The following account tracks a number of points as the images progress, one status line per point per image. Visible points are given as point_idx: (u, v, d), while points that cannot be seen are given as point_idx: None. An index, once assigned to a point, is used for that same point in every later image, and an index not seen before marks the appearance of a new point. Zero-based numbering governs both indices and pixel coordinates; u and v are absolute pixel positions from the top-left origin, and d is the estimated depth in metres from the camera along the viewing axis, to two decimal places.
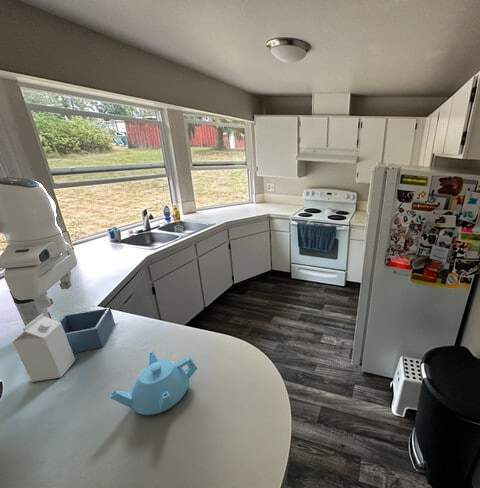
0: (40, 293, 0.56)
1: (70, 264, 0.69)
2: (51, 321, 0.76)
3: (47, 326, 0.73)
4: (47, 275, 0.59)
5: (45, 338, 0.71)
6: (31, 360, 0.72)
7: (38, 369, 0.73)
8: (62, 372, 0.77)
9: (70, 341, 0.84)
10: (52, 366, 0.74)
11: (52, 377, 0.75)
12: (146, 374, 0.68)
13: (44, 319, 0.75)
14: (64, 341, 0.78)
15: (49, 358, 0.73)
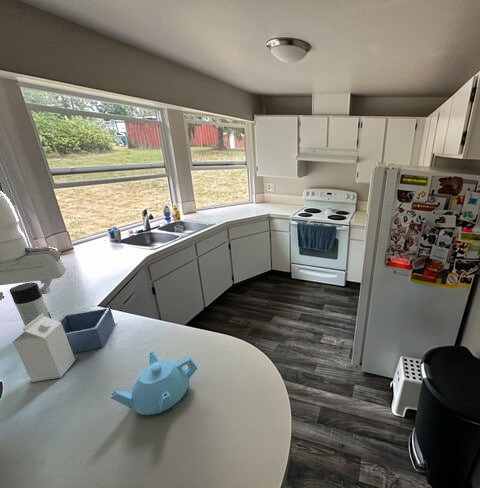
0: None
1: (39, 275, 0.68)
2: (51, 321, 0.76)
3: (47, 326, 0.73)
4: None
5: (45, 338, 0.71)
6: (31, 360, 0.72)
7: (38, 369, 0.73)
8: (62, 372, 0.77)
9: (70, 341, 0.84)
10: (52, 366, 0.74)
11: (52, 377, 0.75)
12: (146, 374, 0.68)
13: (44, 319, 0.75)
14: (64, 341, 0.78)
15: (49, 358, 0.73)
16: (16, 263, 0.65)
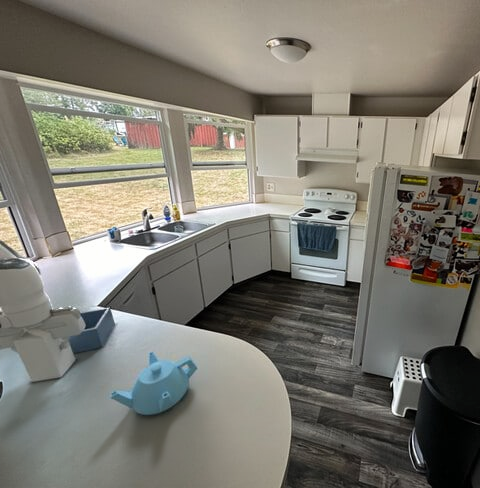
0: None
1: (62, 333, 0.74)
2: None
3: None
4: (13, 337, 0.70)
5: (45, 338, 0.72)
6: (31, 360, 0.72)
7: (38, 368, 0.74)
8: (62, 372, 0.77)
9: (70, 341, 0.84)
10: (52, 366, 0.74)
11: (52, 377, 0.75)
12: (146, 374, 0.68)
13: None
14: None
15: (50, 358, 0.73)
16: (41, 324, 0.72)
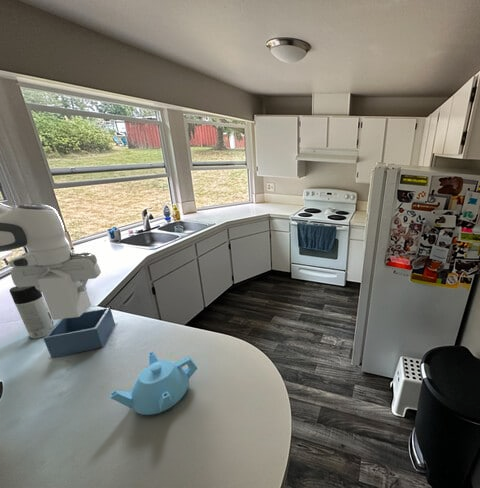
0: (20, 285, 0.77)
1: (80, 275, 0.82)
2: None
3: None
4: (37, 276, 0.78)
5: (66, 278, 0.79)
6: (53, 298, 0.80)
7: (59, 307, 0.81)
8: (80, 313, 0.85)
9: (70, 341, 0.84)
10: (72, 306, 0.82)
11: (71, 316, 0.83)
12: (146, 374, 0.68)
13: None
14: None
15: (69, 298, 0.81)
16: (62, 266, 0.80)
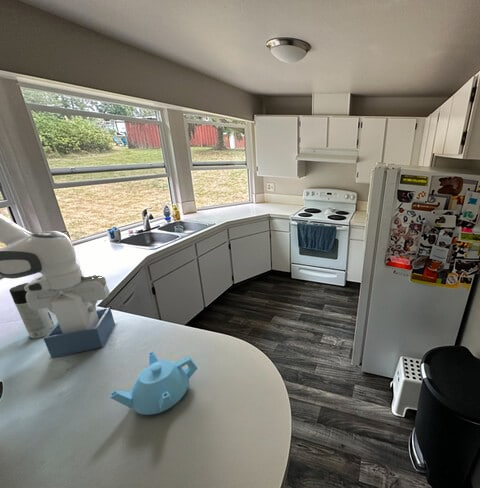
0: (34, 308, 0.81)
1: (91, 297, 0.86)
2: None
3: None
4: (50, 299, 0.82)
5: (77, 300, 0.83)
6: (65, 319, 0.84)
7: (70, 327, 0.85)
8: None
9: (70, 341, 0.84)
10: (83, 326, 0.86)
11: None
12: (146, 374, 0.68)
13: None
14: (91, 305, 0.90)
15: (80, 318, 0.85)
16: (74, 289, 0.84)
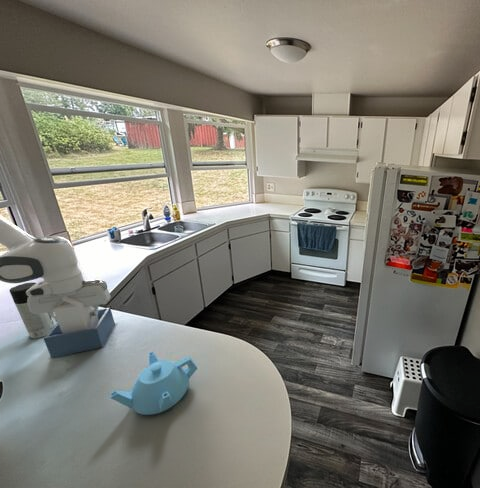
0: (36, 312, 0.82)
1: (92, 301, 0.87)
2: None
3: None
4: (51, 303, 0.83)
5: (79, 307, 0.84)
6: (67, 326, 0.85)
7: None
8: None
9: (70, 341, 0.84)
10: None
11: None
12: (146, 374, 0.68)
13: None
14: None
15: (82, 325, 0.86)
16: (75, 293, 0.84)
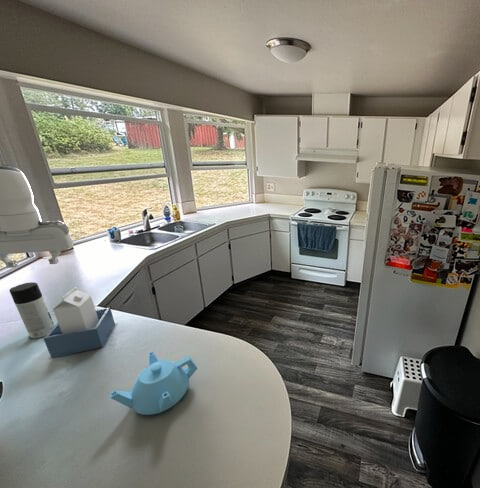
0: None
1: (50, 246, 0.76)
2: (83, 294, 0.89)
3: (80, 297, 0.86)
4: (1, 244, 0.72)
5: (79, 307, 0.84)
6: (67, 326, 0.85)
7: None
8: None
9: (70, 341, 0.84)
10: None
11: None
12: (146, 374, 0.68)
13: (77, 292, 0.88)
14: (93, 311, 0.91)
15: (82, 325, 0.86)
16: (30, 234, 0.74)
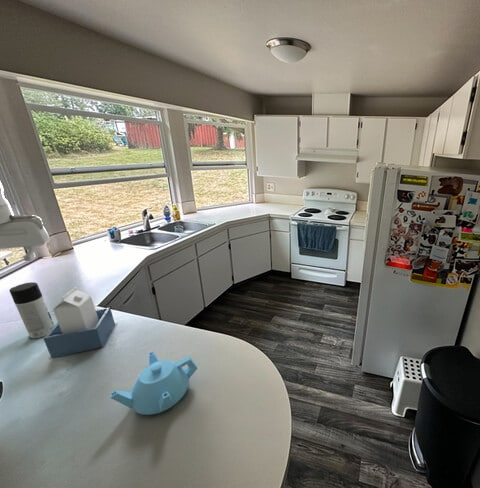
0: None
1: (23, 241, 0.72)
2: (83, 294, 0.89)
3: (80, 297, 0.86)
4: None
5: (79, 307, 0.84)
6: (67, 326, 0.85)
7: None
8: None
9: (70, 341, 0.84)
10: None
11: None
12: (146, 374, 0.68)
13: (77, 292, 0.88)
14: (93, 311, 0.91)
15: (82, 325, 0.86)
16: (0, 229, 0.69)
